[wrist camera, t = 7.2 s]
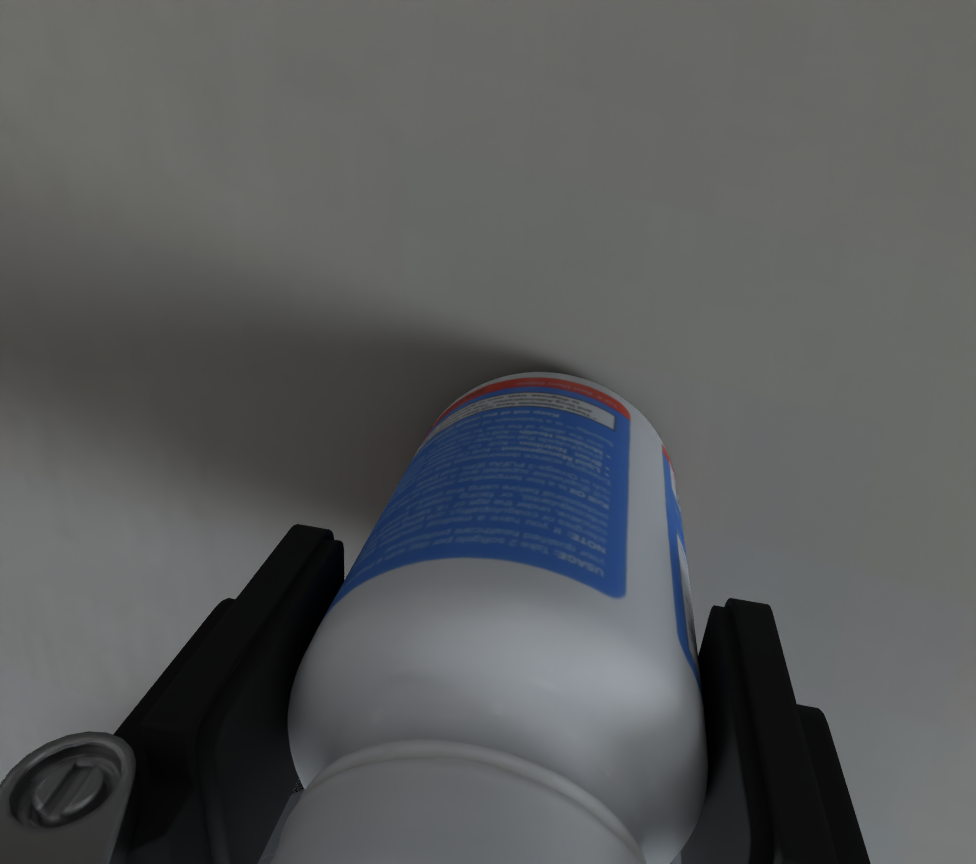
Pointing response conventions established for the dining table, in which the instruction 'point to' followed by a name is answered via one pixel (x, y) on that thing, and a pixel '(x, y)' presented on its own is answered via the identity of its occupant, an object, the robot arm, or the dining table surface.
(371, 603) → the pill bottle
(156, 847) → the robot arm
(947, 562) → the dining table surface
